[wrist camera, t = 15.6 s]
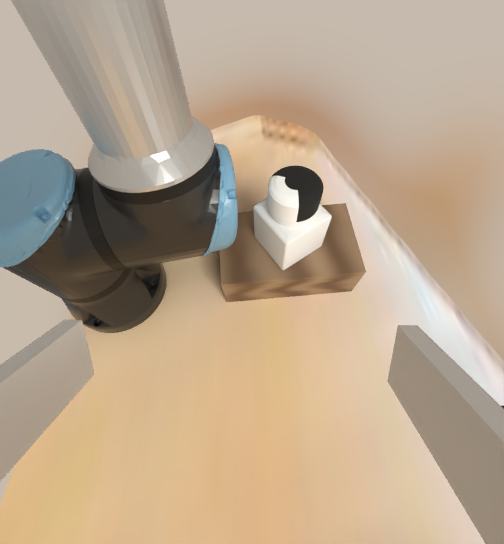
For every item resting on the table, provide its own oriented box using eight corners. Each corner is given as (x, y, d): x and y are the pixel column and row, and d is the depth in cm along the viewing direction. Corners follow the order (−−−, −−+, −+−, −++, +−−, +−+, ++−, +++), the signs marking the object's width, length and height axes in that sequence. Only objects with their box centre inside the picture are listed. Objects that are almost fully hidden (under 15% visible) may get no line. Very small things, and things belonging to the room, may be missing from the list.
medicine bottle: (291, 214, 43) (301, 148, 32) (322, 246, 40) (344, 186, 29) (253, 236, 41) (250, 175, 30) (282, 272, 38) (290, 218, 27)
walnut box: (226, 302, 44) (220, 284, 38) (224, 239, 49) (218, 214, 43) (351, 291, 44) (365, 271, 38) (335, 229, 49) (345, 203, 43)
